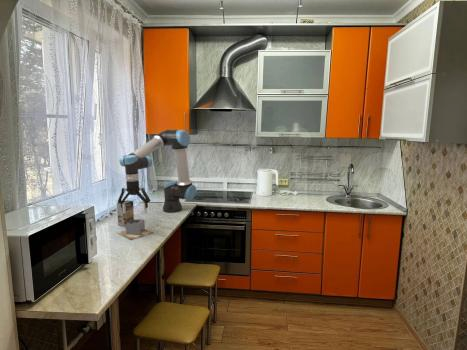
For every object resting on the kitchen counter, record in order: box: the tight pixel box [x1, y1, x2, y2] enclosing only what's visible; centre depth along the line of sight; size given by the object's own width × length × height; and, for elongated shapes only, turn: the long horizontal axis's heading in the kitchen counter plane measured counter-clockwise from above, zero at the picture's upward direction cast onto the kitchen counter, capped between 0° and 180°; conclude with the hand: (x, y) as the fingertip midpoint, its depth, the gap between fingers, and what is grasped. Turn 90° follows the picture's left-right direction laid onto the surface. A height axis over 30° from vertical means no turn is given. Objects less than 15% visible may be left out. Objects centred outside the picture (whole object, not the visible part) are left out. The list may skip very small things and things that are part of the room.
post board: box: [117, 221, 154, 241], centre depth 203 cm, size 16×16×8 cm
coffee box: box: [116, 199, 135, 228], centre depth 220 cm, size 9×6×16 cm
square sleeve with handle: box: [125, 218, 146, 235], centre depth 206 cm, size 14×9×7 cm, turn 177°
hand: (135, 213), depth 202 cm, fingers open, 13 cm apart
